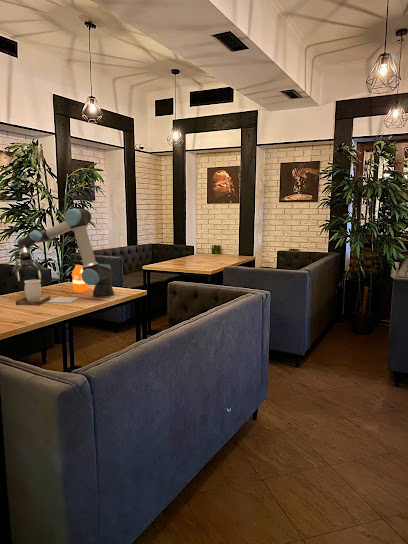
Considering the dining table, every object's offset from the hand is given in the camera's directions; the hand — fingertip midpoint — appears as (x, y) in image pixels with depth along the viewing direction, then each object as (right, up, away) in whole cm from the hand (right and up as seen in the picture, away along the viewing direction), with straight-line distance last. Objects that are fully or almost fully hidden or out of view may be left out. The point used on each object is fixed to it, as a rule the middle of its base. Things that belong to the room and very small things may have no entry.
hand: (29, 279), depth 277 cm
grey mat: (+23, -15, +1) cm, 27 cm away
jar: (+5, -16, -5) cm, 17 cm away
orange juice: (+24, -10, +37) cm, 45 cm away
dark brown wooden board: (+5, -15, -5) cm, 17 cm away
